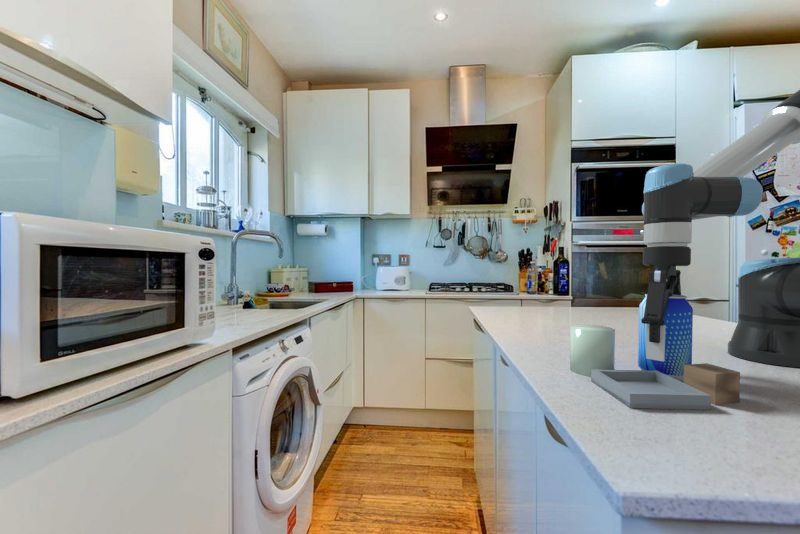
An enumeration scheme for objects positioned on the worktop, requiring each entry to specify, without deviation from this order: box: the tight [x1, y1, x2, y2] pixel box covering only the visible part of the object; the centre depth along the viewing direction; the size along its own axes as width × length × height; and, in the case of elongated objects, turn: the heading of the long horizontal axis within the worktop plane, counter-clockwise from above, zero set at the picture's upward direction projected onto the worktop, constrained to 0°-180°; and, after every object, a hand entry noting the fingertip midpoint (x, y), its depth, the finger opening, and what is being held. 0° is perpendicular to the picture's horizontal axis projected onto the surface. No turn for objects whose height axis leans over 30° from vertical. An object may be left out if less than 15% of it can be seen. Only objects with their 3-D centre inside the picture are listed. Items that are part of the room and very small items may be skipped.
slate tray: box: [590, 369, 712, 411], centre depth 60 cm, size 12×12×2 cm
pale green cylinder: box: [569, 323, 616, 378], centre depth 72 cm, size 8×8×9 cm
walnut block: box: [683, 362, 741, 406], centre depth 58 cm, size 5×5×5 cm
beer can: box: [637, 293, 694, 382], centre depth 69 cm, size 8×8×16 cm
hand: (663, 353), depth 69 cm, fingers open, 13 cm apart
